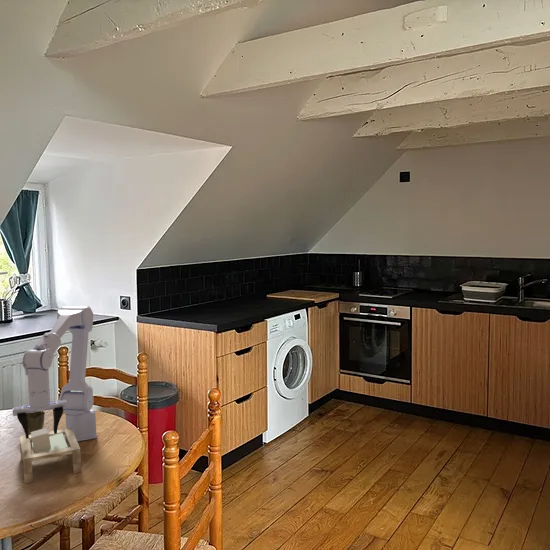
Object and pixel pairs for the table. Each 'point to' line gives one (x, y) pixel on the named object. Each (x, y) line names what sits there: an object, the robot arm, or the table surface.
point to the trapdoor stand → (49, 452)
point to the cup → (35, 421)
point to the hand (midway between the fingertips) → (41, 434)
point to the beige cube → (40, 439)
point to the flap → (54, 443)
